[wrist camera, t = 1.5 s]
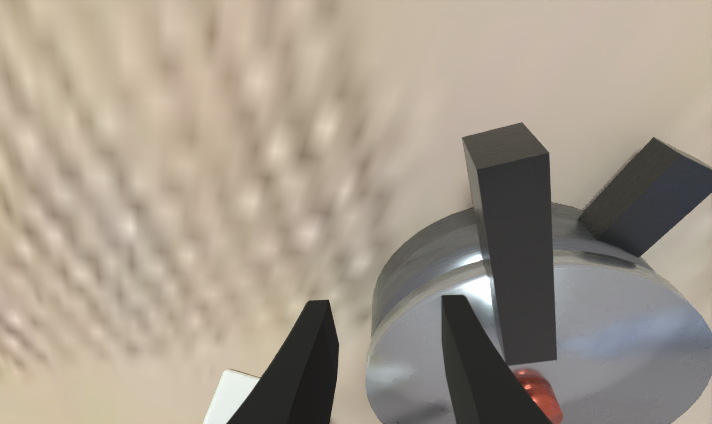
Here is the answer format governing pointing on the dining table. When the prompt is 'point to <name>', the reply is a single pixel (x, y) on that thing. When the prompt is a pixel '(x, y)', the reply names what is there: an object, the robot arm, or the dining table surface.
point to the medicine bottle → (229, 396)
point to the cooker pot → (564, 224)
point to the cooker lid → (543, 313)
